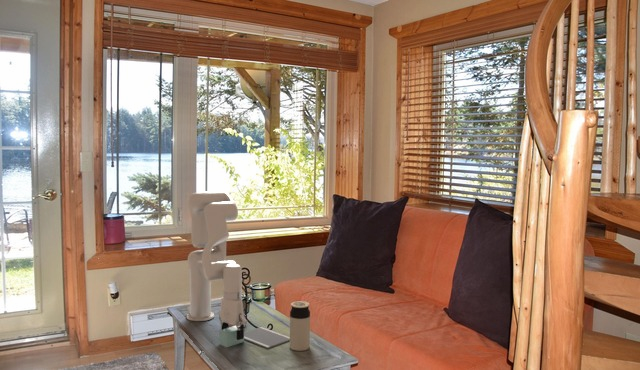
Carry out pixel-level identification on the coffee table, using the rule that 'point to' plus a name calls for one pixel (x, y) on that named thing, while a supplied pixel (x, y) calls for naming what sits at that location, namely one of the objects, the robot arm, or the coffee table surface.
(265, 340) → the mat
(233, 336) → the card deck block
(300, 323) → the travel mug
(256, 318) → the coffee table surface
